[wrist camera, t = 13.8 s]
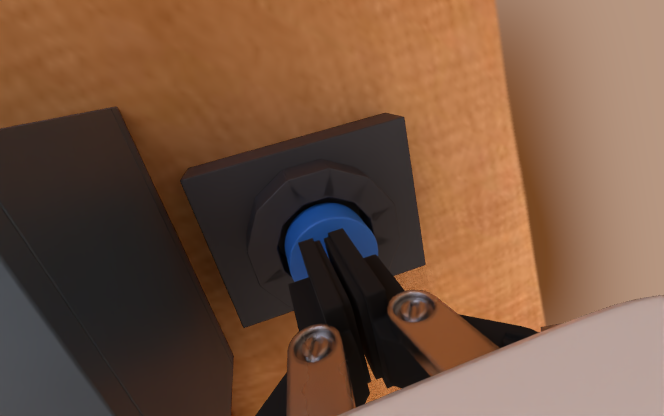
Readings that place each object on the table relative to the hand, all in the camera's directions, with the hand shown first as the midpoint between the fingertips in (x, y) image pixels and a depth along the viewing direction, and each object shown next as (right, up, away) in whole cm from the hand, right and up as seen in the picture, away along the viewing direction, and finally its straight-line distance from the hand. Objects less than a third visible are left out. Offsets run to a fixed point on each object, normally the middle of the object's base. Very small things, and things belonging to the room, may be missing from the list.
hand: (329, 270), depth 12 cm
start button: (0, +1, +3) cm, 3 cm away
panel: (-1, +2, +6) cm, 6 cm away
